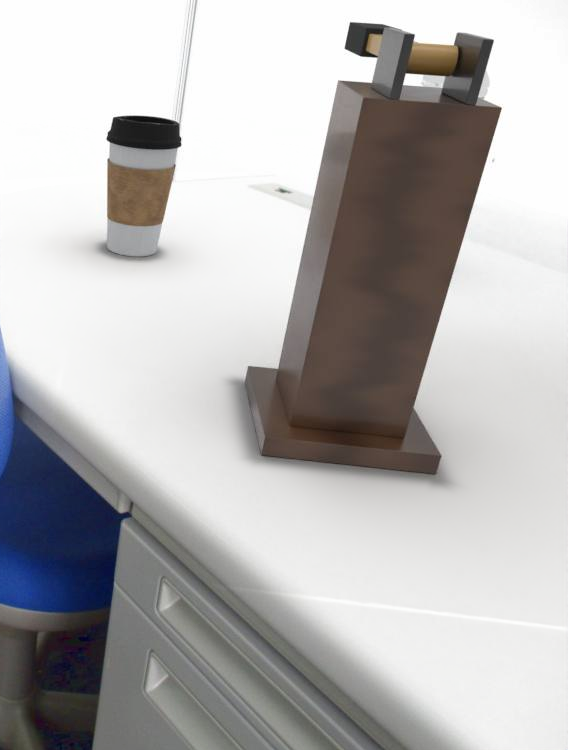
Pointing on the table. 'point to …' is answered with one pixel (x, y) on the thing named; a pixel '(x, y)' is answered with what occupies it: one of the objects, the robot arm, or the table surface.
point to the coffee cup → (139, 181)
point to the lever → (422, 58)
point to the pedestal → (377, 264)
